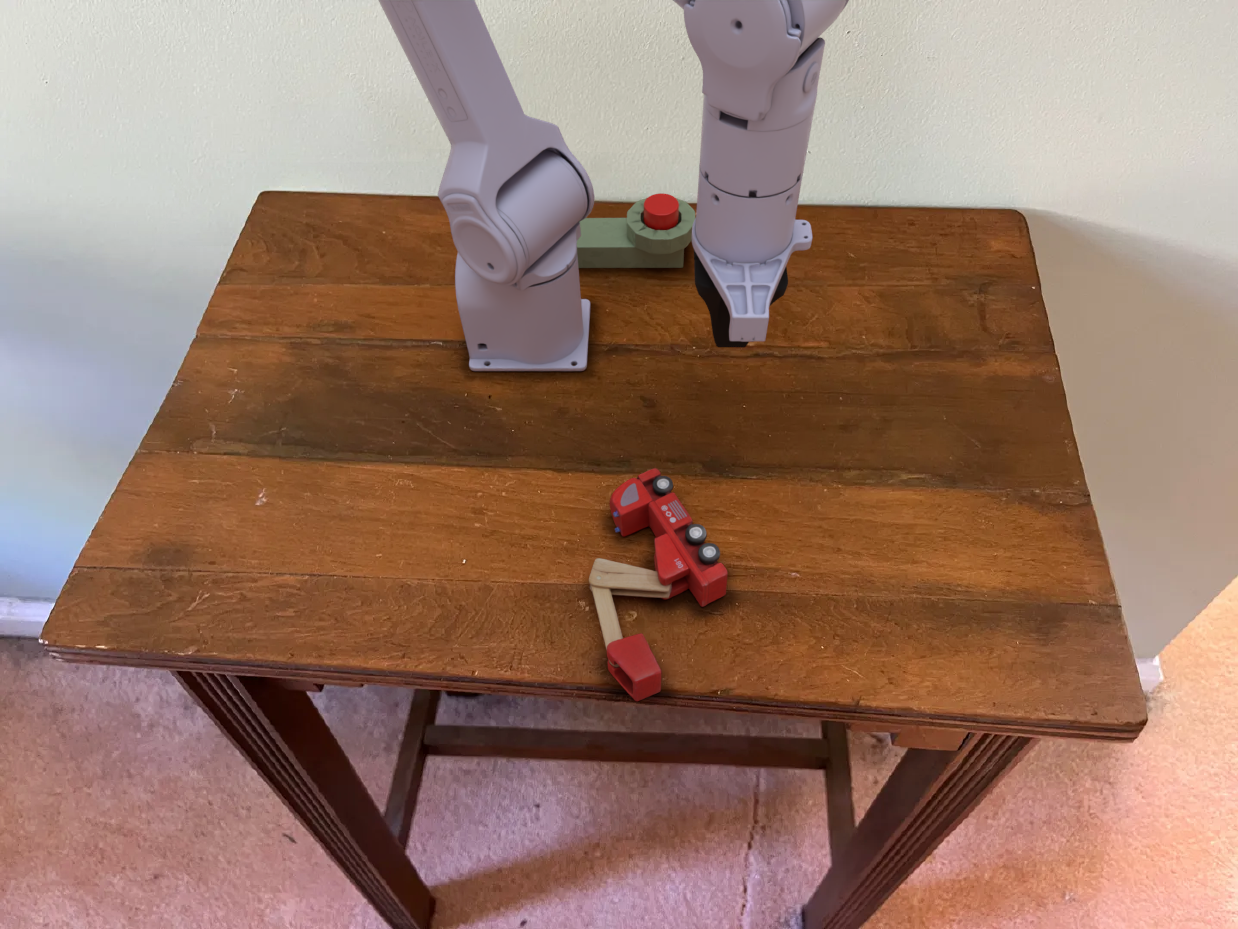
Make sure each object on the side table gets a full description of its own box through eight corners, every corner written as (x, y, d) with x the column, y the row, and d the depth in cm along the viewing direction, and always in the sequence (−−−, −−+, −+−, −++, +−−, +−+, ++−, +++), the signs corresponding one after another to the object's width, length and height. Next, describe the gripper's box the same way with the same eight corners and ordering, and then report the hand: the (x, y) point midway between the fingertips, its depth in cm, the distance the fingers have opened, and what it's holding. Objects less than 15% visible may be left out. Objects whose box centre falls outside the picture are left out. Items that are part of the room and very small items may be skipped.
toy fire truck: (658, 458, 60) (531, 515, 58) (767, 616, 53) (627, 688, 50) (658, 485, 63) (537, 541, 61) (762, 639, 56) (629, 709, 53)
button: (643, 231, 74) (643, 215, 73) (643, 209, 76) (643, 192, 75) (678, 231, 74) (679, 214, 73) (678, 209, 76) (678, 192, 74)
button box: (570, 275, 76) (566, 239, 73) (573, 232, 80) (570, 195, 77) (694, 275, 76) (696, 238, 73) (692, 231, 80) (694, 195, 76)
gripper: (840, 253, 43) (800, 424, 54) (811, 92, 52) (781, 267, 63) (698, 253, 43) (687, 422, 54) (693, 92, 52) (684, 267, 63)
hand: (730, 339), depth 59 cm, fingers closed
